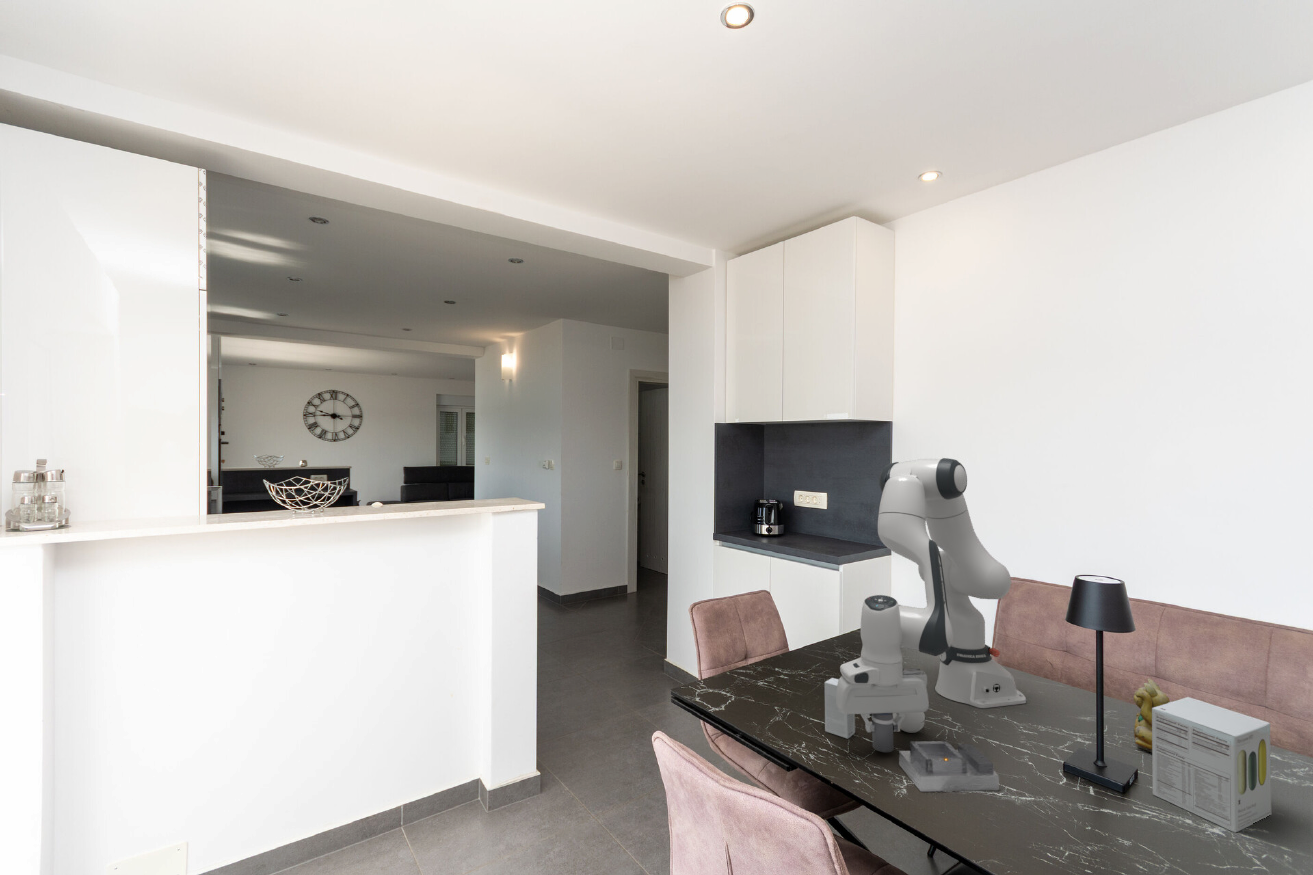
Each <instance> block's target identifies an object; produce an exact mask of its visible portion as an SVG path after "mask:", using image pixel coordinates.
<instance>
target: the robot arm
mask: <svg viewBox="0 0 1313 875" xmlns="http://www.w3.org/2000/svg"><path fill="white" fill-rule="evenodd" d="M878 485H879V489H880V491H881V494H882V495H881V498H880V503H879V508H878V516H877V517H878V518H877V534H878V537H879V538H878V539H879V540H880V541H881V543H883V545H884V546H885V547H887V548H888V550H890V551H892V552H893V553H895V554H897V555H899V556H902V557H903V558H905V559H908V560H909V561H911V562H913V563H915V564H916V565H918V569H917V570H918V574H919V576H920V579H921V580H922V581H923V582H924V588H925V589H924V590H925V591H924V592H925V599H926V606H925V607H923V608H922V607H914V606H908V605H903V604H899V603H898V600H897V599H895V598H893V597H891V596H888V595H883V594H875V595H871V596H868V597H867V598H865V599H864V600H863V602H862V603H863V604H862V607H861V615H860V616H861V617H860V639H861V642H862V648H861V651H860V657H858V658H856V659H855V658H854V659H853V660H850V661H847V662H845V663H843V664H841V665H840V667H839V670H840V673H841V676H840V677H839V678H838V679H839V680H838V684H837V692H836V704H837V707H838V708H839V710H840V711H841V712H842V713H843V714H855V715H860V717H861V718H862V719H863V721H864V725H865V726H864V727H865V730H866V732H867V733H872V732H875V730H874V728H875V725H874V724H873V723H872V721H869V719H870V717H871V715H872V714H876V713H896V714H897V715H896V717H895V719H893V733H894V732H896V733H897V732H901V729H900V724H901V723H902V721H903V719H904V718H905V713H911V712H924V713H926V712H927V711H928V710H929V708H930V703H929V694H928V690H927V686H928V676H927V674H926V672H925V671H923V670H922V669H920V668H913V669H912V668H903V654H902V652H901V648H902V649H907V650H911V651H916V652H920V653H923V654H925V655H929V656H933V657H937V656H938V657H939V671H938V675H937V681H936V685H935V686H934V690H935V692H936V693H937V694H939V695H941V696H942V697H944V698H946V699H948V700H951V701H955V702H957V703H963V704H967V705H970V706H972V707H975V708H978V709H988V708H996V707H1004V706H1006V707H1007V706H1013V705H1021V704H1027V698H1026V696H1025V695H1024V694H1023V693H1022V691H1019V690H1018V689H1017V686H1016V681H1015V678H1014V676H1013V675H1012V674H1011V672H1009V671H1008V670H1007V669H1005V667H1003V666H1002V665H1001V664H999V663H998V662H997V661H996V660H994V659H993V658H992V656H993V657H995V658H998V657H999V656H1000V654H1001V652H1000V651H999V650H998V649H996V647H990V646H989V645H987V644H986V620H985V617H984V616H983V613H982V612H981V611H980V610H978V608H977V607H975V606H974V604H973V603H972V601H971V599H970V597H973V598H975V599H979V600H1000V599H1003V598H1005V596H1006V595H1007V594H1009V591H1010V589H1011V585H1012V578H1011V574H1010V572H1009V570H1008V569H1007V567H1006V566H1005V565H1004V564H1002V563H1001V562H999V561H998V560H997V559H995V558H994V556H992V555H991V554H990V552H989V551H988V550H987V549H986V548H985V547H984V545H983V544H982V542H981V541H980V539H979V537H978V536H977V534H976V532H975V528H974V526H973V523H972V520H971V516H970V512H969V508H968V505H967V502H966V498H965V496H964V493H965V491H966V489H967V485H968V476H967V472H966V469H965V467H964V465H963V464H962V463H961V462H959V460H957V459H953V458H948V457H946V458H945V457H942V458H918V459H915V460H913V459H912V460H908V461H902V462H901V461H900V462H899V461H894V462H891V463H888V464H886V465H884V466H883V468H882V469H881V471H880V473H879V475H878ZM926 526H927V528H926ZM927 530H928V531H927ZM928 533H929V534H928ZM939 548H940V549H941V550H940V549H939Z"/></svg>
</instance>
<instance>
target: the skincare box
mask: <svg viewBox="0 0 1313 875" xmlns="http://www.w3.org/2000/svg"><path fill="white" fill-rule="evenodd" d="M838 680H839V678H834V677H831V678H830V679H827V680H826V681H824V731H825V732H826V733H830V734H833V735H835V736H839V737H841V738H845V739H849V738H851V737H852V736H854V735H855V733H856V714H843V713H842V712H841V711H840V710H839V708H838V707H837V704H836V692H837V684H838Z"/></svg>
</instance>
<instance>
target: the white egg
mask: <svg viewBox="0 0 1313 875" xmlns="http://www.w3.org/2000/svg"><path fill="white" fill-rule="evenodd" d="M896 715H897V714H896V713H893V720H894V719H895V717H896ZM926 720H927V719H926V715H925V712H911V713H905V718H904V719H903V721H902V723H901V724H900V731H904V732H905V733H911V734H912V733H917V732H919V731H920V730H922V729H923V728H924V725H925V722H926Z"/></svg>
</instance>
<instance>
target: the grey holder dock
mask: <svg viewBox="0 0 1313 875" xmlns="http://www.w3.org/2000/svg"><path fill="white" fill-rule="evenodd" d="M909 748H910V749H909V750H898V765H899V767H900V768H901V769H902V770H903V771H904V773H905V774H906V775H907V776H908V778H909V779H910V780H911V782H912V783H913V784H914V785H915V787H916V788H917V789H918V790H919V791H920V792H923V793H925V792H969V791H970V792H971V791H972V792H973V791H975V792H976V791H978V792H979V791H980V792H981V791H999V790H1000V775H999V774H998V773H997V772H996V771H995V770H994V763H993V762H992V761H991V760H990V759H989V758H988V757H987V756H986V755H984V754H983V753H982V752H981V751H980V750H979V749H978V748H977V747H976V746H974V745H973V744H972V743H960V744H959V743H958V744H957V749H955V748H954V747H953V746H952V745H951V744H950V743H949V742H948V741H946V740H941V741H940V740H939V741H937V740H936V741H935V740H932V741H931V740H930V741H929V740H928V741H909Z"/></svg>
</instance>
